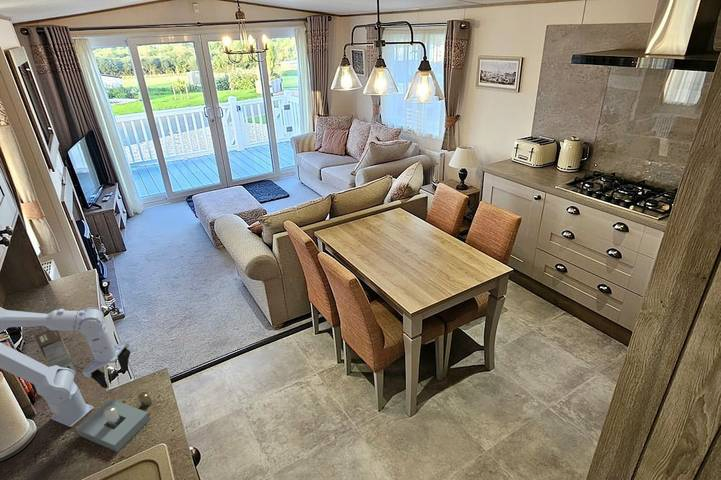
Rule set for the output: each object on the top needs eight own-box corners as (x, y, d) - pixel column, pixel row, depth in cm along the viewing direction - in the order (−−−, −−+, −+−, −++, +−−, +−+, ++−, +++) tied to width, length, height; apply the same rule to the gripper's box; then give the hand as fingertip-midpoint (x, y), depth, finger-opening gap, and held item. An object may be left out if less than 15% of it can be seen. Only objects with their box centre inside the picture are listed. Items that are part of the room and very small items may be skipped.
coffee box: (51, 369, 149) (34, 334, 141) (71, 360, 153) (55, 326, 145) (57, 382, 143) (39, 347, 135) (78, 372, 147) (61, 337, 139)
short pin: (139, 406, 132) (136, 397, 130) (147, 399, 134) (143, 390, 132) (146, 409, 131) (142, 400, 129) (153, 402, 133) (150, 393, 131)
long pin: (110, 429, 124) (101, 411, 121) (119, 422, 127) (111, 404, 123) (115, 434, 123) (107, 415, 119) (125, 426, 125) (117, 408, 121)
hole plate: (79, 435, 123) (75, 428, 121) (114, 405, 133) (111, 398, 131) (117, 452, 117) (114, 445, 116) (150, 419, 127) (148, 412, 126)
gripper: (88, 364, 117) (103, 398, 123) (130, 333, 129) (142, 365, 135) (72, 358, 120) (87, 392, 126) (114, 328, 132) (127, 360, 138)
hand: (115, 378), depth 131 cm, fingers open, 7 cm apart
